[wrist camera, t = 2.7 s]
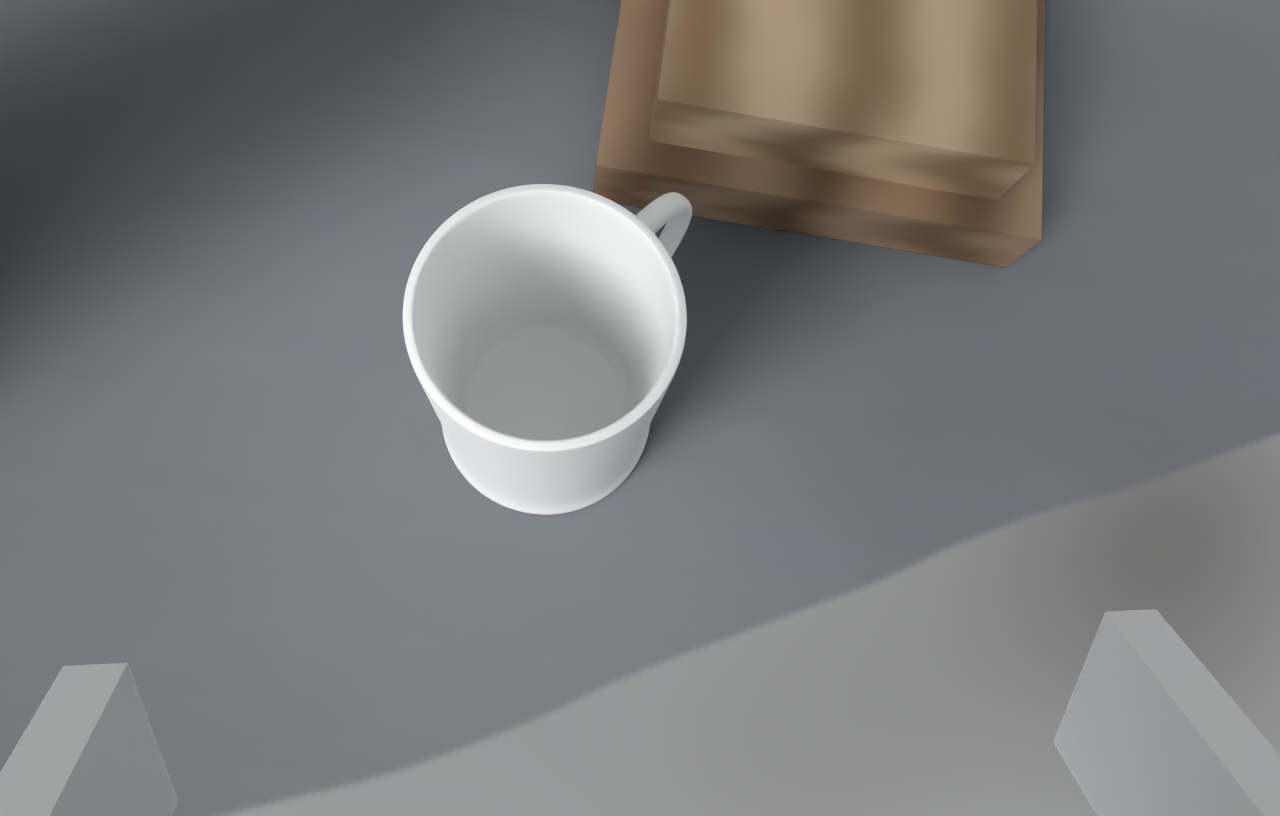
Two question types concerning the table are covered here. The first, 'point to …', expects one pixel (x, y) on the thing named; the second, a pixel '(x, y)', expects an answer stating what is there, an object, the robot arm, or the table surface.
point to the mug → (548, 338)
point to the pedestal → (835, 119)
